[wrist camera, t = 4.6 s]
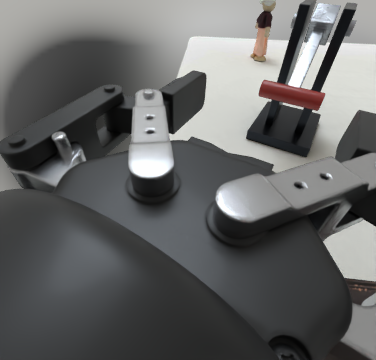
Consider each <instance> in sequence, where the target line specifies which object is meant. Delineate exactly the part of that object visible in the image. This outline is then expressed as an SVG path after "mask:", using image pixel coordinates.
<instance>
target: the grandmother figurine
mask: <svg viewBox="0 0 376 360" xmlns="http://www.w3.org/2000/svg"><path fill="white" fill-rule="evenodd" d="M275 1H276V0H261V1H260V4H262V5H263V9H264V12H262V13H261V14H260V16H259V17H258V19H257V22H256V26H255V28H256V29H258V33H257V38H256V43H255V47H254V51H253V54H251V57H253V58H254V60H256V61H266V58H265V57H264V56H263V55H266V49H267V40H268V37H269V32H270V28H271V21H272V15H271V11H272V10H273V9H274V8H275V5H276V2H275Z"/></svg>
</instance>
